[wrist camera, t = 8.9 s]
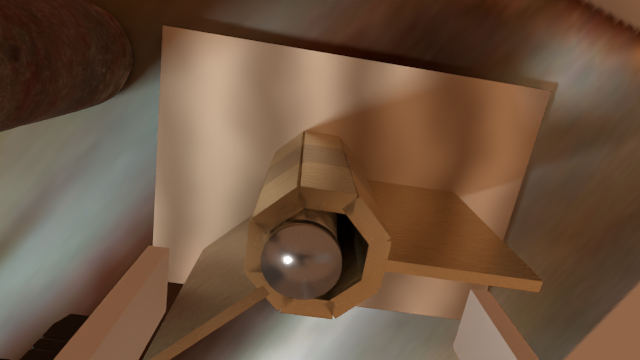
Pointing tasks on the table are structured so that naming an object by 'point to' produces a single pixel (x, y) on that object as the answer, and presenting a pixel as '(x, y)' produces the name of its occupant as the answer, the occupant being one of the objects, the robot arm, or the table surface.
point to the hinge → (353, 236)
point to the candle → (58, 59)
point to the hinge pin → (303, 255)
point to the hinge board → (333, 119)
